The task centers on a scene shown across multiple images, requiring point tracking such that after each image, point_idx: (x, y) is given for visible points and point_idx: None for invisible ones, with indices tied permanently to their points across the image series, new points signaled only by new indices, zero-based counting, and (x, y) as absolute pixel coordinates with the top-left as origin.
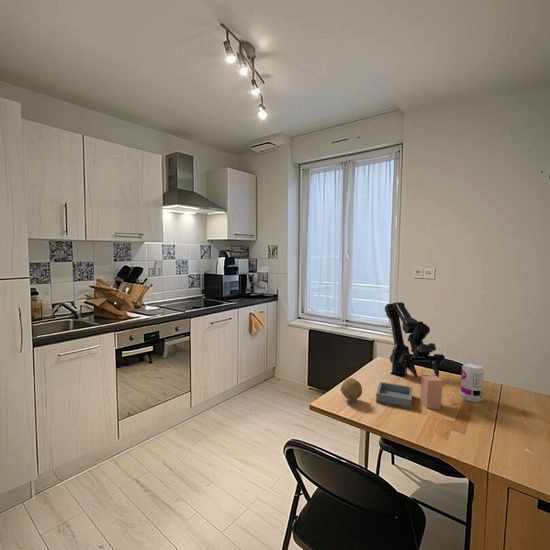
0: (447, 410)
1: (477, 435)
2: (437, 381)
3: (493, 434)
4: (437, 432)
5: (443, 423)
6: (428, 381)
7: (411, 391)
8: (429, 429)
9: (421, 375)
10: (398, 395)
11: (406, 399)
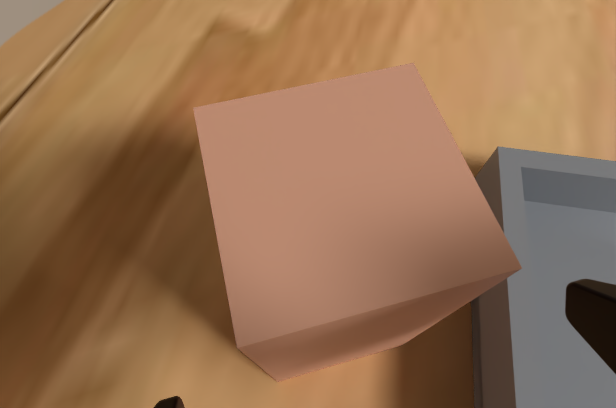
0: (209, 245)
1: (156, 23)
2: (272, 103)
3: (66, 46)
4: (340, 4)
5: (290, 79)
6: (401, 77)
7: (518, 335)
8: (374, 16)
9: (514, 264)
10: (608, 374)
11: (538, 154)
